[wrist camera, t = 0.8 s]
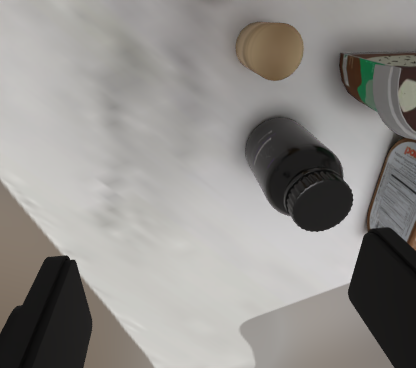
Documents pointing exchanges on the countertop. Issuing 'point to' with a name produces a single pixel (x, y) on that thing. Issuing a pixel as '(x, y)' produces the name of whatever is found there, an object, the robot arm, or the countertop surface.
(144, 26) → the countertop surface
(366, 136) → the countertop surface
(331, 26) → the countertop surface
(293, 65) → the oak bead
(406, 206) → the tin
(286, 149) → the supplement bottle
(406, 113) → the food container
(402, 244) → the robot arm
